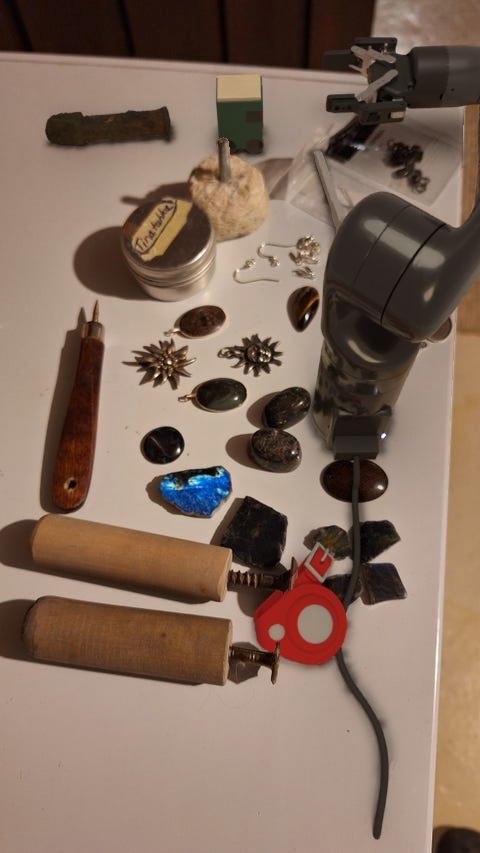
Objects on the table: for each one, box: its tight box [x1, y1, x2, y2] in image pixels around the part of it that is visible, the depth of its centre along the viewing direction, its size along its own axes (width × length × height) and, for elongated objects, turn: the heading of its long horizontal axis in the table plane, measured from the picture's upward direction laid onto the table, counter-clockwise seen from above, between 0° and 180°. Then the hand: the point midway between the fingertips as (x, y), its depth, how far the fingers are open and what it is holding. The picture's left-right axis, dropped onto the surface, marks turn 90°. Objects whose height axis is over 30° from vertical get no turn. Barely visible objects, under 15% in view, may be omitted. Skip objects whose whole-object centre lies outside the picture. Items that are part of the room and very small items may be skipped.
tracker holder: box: [253, 541, 348, 666], centre depth 67 cm, size 12×4×10 cm
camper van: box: [215, 73, 265, 155], centre depth 92 cm, size 5×7×10 cm
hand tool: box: [44, 105, 172, 146], centre depth 96 cm, size 19×4×5 cm, turn 92°
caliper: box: [313, 150, 347, 232], centre depth 88 cm, size 20×1×6 cm, turn 8°
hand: (324, 81), depth 87 cm, fingers open, 8 cm apart
